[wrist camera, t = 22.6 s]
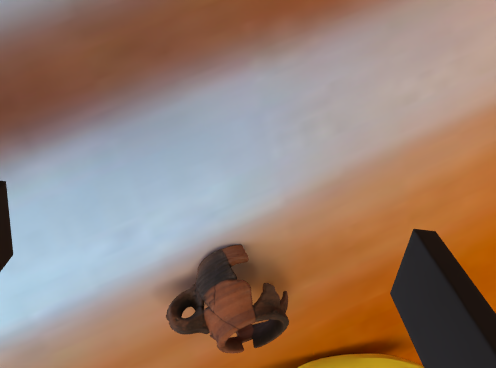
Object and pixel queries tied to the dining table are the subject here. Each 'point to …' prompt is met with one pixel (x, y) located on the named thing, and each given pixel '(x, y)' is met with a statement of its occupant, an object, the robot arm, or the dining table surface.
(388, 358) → the banana
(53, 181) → the dining table surface
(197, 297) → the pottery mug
